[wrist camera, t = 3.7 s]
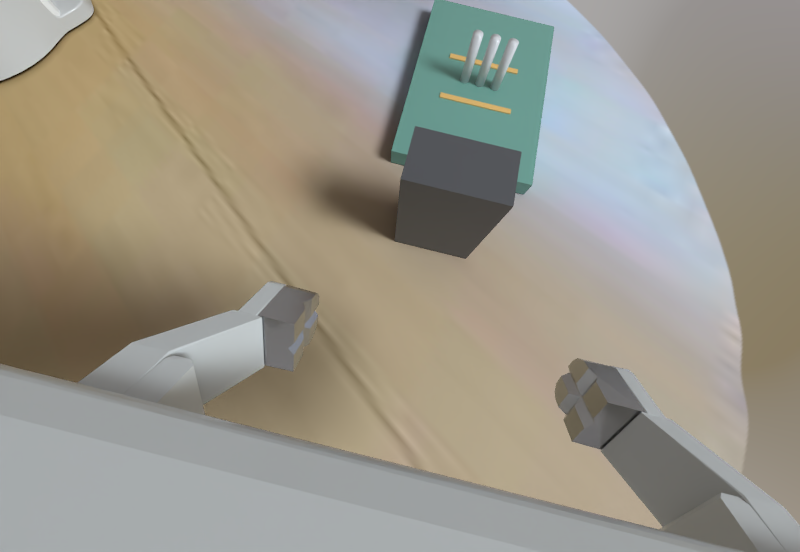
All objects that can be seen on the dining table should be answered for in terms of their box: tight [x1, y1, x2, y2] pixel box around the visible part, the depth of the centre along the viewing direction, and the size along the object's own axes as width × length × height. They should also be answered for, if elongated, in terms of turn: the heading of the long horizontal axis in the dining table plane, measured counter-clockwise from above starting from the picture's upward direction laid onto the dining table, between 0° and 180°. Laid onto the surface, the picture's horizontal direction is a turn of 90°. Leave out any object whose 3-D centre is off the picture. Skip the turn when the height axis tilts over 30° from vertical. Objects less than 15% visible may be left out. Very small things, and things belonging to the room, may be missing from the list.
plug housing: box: [395, 126, 522, 259], centre depth 20 cm, size 6×3×9 cm, turn 76°
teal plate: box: [391, 0, 554, 194], centre depth 25 cm, size 12×18×6 cm, turn 167°
